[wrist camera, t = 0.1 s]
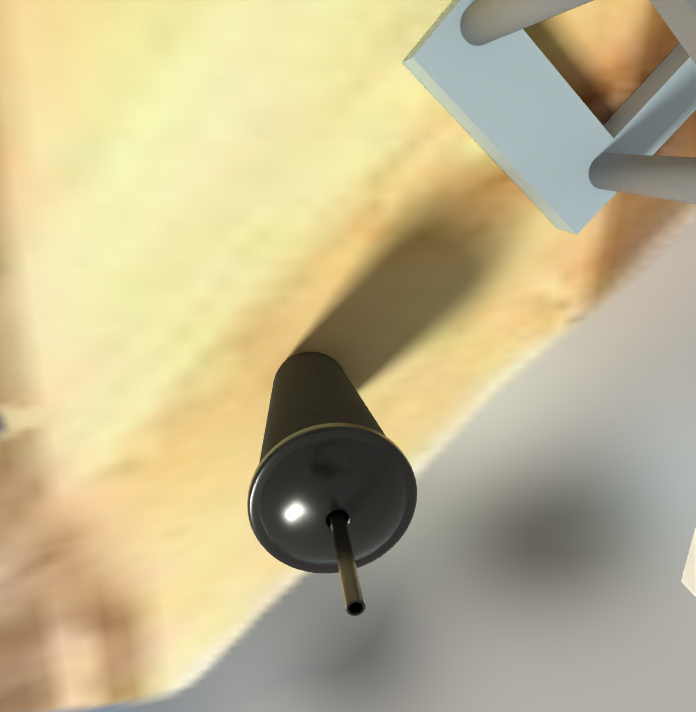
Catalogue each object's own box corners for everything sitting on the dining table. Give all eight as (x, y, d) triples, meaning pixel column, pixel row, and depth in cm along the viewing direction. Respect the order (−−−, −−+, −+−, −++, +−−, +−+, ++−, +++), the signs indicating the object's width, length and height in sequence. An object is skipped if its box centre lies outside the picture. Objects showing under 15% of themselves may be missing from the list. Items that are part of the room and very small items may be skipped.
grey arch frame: (598, -173, 31) (997, -533, 14) (739, 35, 36) (1165, -54, 19) (401, 62, 34) (545, -10, 17) (557, 228, 38) (791, 301, 21)
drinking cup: (273, 314, 37) (289, 490, 19) (384, 351, 39) (498, 544, 21) (235, 420, 40) (215, 671, 21) (342, 450, 41) (410, 706, 23)
